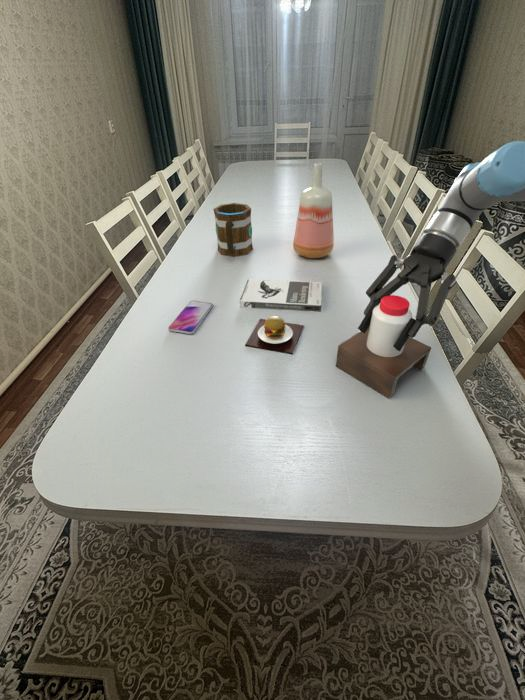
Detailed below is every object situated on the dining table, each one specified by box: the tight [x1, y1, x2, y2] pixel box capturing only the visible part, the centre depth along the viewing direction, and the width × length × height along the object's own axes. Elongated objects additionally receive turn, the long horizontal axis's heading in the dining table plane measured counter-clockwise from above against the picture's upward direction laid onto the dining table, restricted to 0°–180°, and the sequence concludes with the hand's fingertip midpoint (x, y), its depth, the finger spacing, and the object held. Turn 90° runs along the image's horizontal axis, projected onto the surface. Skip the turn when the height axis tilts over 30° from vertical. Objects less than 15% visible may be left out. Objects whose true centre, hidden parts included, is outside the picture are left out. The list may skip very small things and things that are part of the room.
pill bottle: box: [366, 294, 414, 357], centre depth 74 cm, size 8×8×11 cm
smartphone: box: [167, 300, 214, 335], centre depth 99 cm, size 7×1×15 cm
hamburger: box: [244, 315, 304, 355], centre depth 90 cm, size 12×12×6 cm
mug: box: [212, 202, 254, 258], centre depth 129 cm, size 20×14×15 cm
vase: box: [292, 162, 335, 259], centre depth 122 cm, size 14×14×30 cm
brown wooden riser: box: [335, 326, 432, 399], centre depth 79 cm, size 14×14×6 cm
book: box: [239, 278, 323, 313], centre depth 106 cm, size 23×14×2 cm, turn 82°
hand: (378, 339), depth 73 cm, fingers closed on pill bottle, 8 cm apart
